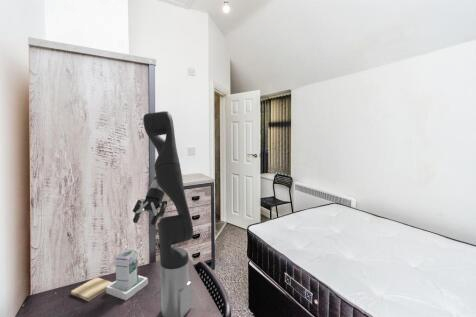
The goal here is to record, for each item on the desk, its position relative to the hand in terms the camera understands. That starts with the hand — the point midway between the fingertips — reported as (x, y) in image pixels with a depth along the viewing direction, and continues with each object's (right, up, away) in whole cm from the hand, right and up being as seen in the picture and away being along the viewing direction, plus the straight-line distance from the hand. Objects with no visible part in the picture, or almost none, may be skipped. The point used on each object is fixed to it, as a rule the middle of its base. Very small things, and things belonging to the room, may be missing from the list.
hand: (143, 223), depth 98 cm
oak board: (-16, -23, -9) cm, 30 cm away
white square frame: (-3, -23, -9) cm, 25 cm away
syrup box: (-3, -24, -9) cm, 25 cm away
